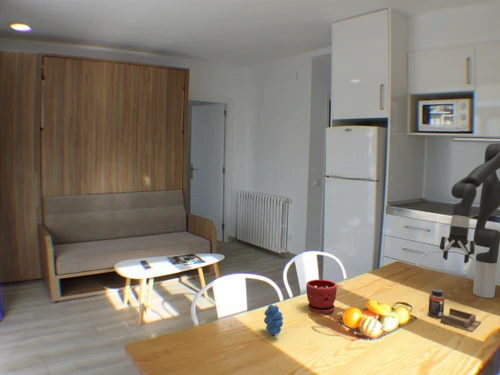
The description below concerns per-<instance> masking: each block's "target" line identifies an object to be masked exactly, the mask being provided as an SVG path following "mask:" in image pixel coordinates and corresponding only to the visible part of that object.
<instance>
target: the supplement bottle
mask: <svg viewBox="0 0 500 375" xmlns="http://www.w3.org/2000/svg"><path fill="white" fill-rule="evenodd" d="M428 298H429V299H428V311H427V312H428V313H427V314H428V316H430V317H431V318H435V319H441V315H444V312H445V310H444V309H445V296H444V295H443V290H442V289H439V288H438V289H437V288H433V289H432V292H431V293H430V294H429V297H428Z"/></svg>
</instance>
